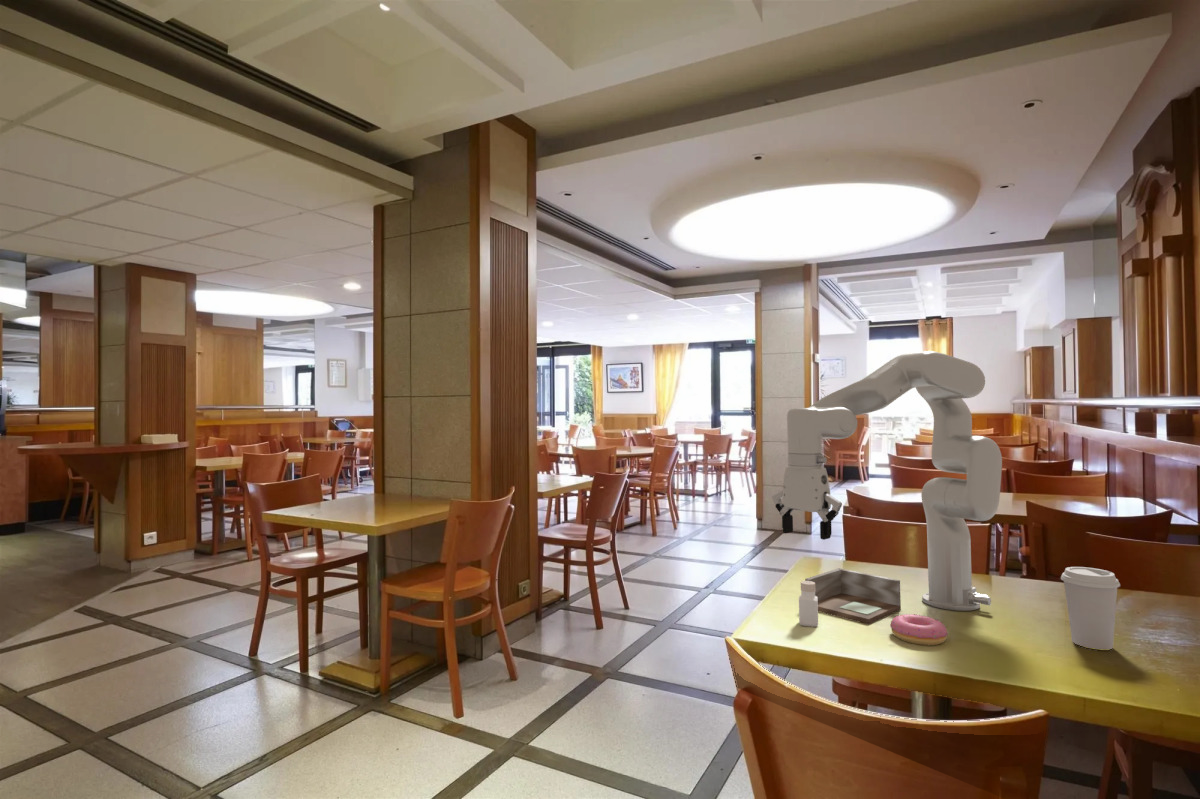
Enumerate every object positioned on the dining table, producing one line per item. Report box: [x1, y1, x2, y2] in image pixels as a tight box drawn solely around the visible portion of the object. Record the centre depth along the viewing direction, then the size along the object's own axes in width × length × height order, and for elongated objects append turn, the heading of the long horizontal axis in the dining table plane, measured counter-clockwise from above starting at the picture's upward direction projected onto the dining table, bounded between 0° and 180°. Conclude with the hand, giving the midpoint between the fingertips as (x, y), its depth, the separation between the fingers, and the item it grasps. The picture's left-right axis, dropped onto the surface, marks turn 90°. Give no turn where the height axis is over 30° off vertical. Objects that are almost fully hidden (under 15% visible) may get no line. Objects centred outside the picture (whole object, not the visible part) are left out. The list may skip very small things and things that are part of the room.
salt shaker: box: [798, 580, 819, 628], centre depth 139 cm, size 4×4×10 cm
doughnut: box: [889, 613, 948, 646], centre depth 130 cm, size 11×11×4 cm
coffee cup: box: [1060, 566, 1121, 650], centre depth 125 cm, size 10×10×15 cm
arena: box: [804, 568, 902, 625], centre depth 150 cm, size 16×16×7 cm
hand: (806, 535), depth 140 cm, fingers open, 9 cm apart
